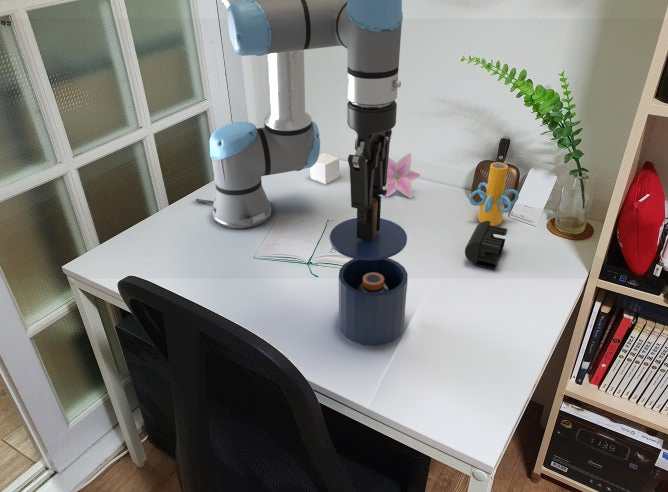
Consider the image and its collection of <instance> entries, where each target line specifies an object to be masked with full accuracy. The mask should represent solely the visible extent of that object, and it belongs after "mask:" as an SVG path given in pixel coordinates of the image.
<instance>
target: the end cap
mask: <svg viewBox="0 0 668 492" xmlns="http://www.w3.org/2000/svg"><path fill="white" fill-rule="evenodd" d="M490 222H491V221H483V222H481V223H480V222H479V223H478V224H477V225H476V227H475V228H474V231H473V232H472V235H471V236H470V238H469V240H468V243H467V244H466V246H465V248H464V255H465V257H466V259H467V260H468V261H469V262H470V263H472V264H473V265H474V266H476V267H479V268H483V269H487V270H490V271H491V270H492V271H494V270H496V268H497V266H498V263H499V261H500V259H501V256H502V254H503V251H504V247H505V243H506V238H503V237H505V236H507V233H508V228H506V227H502V226H497V225H496V226H491V225H490ZM495 235H498V236H502V238H501V237H497V236H495Z"/></svg>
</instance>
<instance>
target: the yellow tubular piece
mask: <svg viewBox="0 0 668 492" xmlns="http://www.w3.org/2000/svg"><path fill="white" fill-rule="evenodd" d="M508 169H509V165H508V164H507V163H505V162H500V161H496V162H492V163H491V164H490V167H489V172H488V178H487V183H486V182H483V181H482V182H480V183H479V184H478V187H477V189H476V190H474V191H472V192H471V193H470V194H469V196H468V201H469V203H470V205H472V206H475V207H478V206H479V208H478V215H477V220H478V222H479V223H481V222H483V221H491V222H490V225H491V226H496V227H497V226H500V225H501V224H502V222H503V218H504V214H508V213H509V212H511V209H512V205H514V204H515V203H516V202H518V200H519V197H520V196H519V192H518V191H517V190H516V189H514V188H511V189H507V190H505V184H506V180H507V175H508ZM483 186H484V187H485V191H484V190H482V187H483ZM511 193H513V194H514V195H515V197H514V199H513V200H510V198H509V196H507V195H508V194H511ZM477 194H478V196H479V197H480V198H481V199H482V200H480V201H478V202H475V201H474V200H473V197H474V196H475V195H477ZM505 205H506V206H507V208H505Z"/></svg>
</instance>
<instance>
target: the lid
mask: <svg viewBox="0 0 668 492" xmlns="http://www.w3.org/2000/svg"><path fill="white" fill-rule="evenodd" d="M377 203H378V201H377V199H375V198H373V197H372V205H374V216H373V239H372V240H371V241H370V240H365V239H361V238H357V217H353V218H349V219H346V220H343V221H341V222H340V223H338V224H336V225H335V226H334V227H333V228H332V229H331V231H330V233H329V243H330V245H331V247H332V249H334V250H335V251H336V252H337V253H339V254H340V255H342V256H344V257H347V258H350V259H358V260H381V259H385V258H389V259H390V258H391V257H394V256H396V255H398V254H400V253H401V252H402V251H403V250H404V249H405V248H406V246H407V243H408V235H407V232H406V231H405V229H404V228H403V227H402V226H401V225H399V224H398V223H396V222H394V221H392V220H389V219H385V218H382V217H380V230H379V231H376V229H377Z"/></svg>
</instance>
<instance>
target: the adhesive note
mask: <svg viewBox="0 0 668 492" xmlns="http://www.w3.org/2000/svg"><path fill="white" fill-rule="evenodd" d="M309 173H310V174H309V175H310V176H309V177H310V179H311V180H313V181H316V182H319V183H321V184H323V185H328V184H329V183H331V182H333V181H335V180H337V179H339V178H340V157H337V156H334V155H332V154H328V153H326V152H323V153H319V157H318V160H317V162H316V163H315V164H314V165H313V166H312V167H310V168H309Z"/></svg>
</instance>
